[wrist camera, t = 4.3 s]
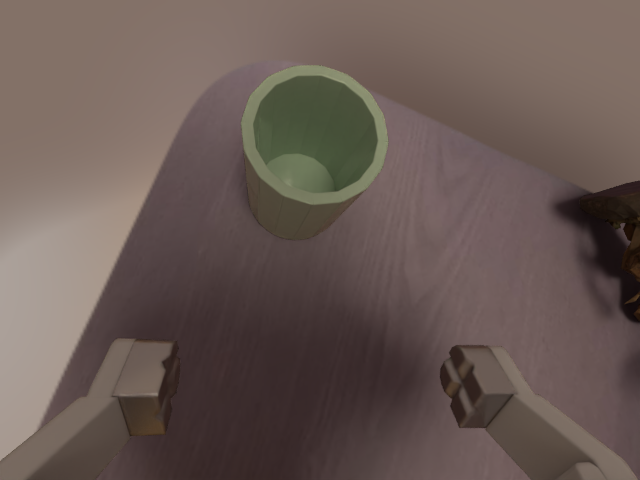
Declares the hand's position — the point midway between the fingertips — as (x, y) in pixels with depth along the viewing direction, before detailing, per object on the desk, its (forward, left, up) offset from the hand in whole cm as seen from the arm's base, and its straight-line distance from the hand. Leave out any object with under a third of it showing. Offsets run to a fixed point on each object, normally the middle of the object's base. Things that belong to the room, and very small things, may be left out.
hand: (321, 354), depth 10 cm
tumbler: (+1, +8, -12) cm, 15 cm away
